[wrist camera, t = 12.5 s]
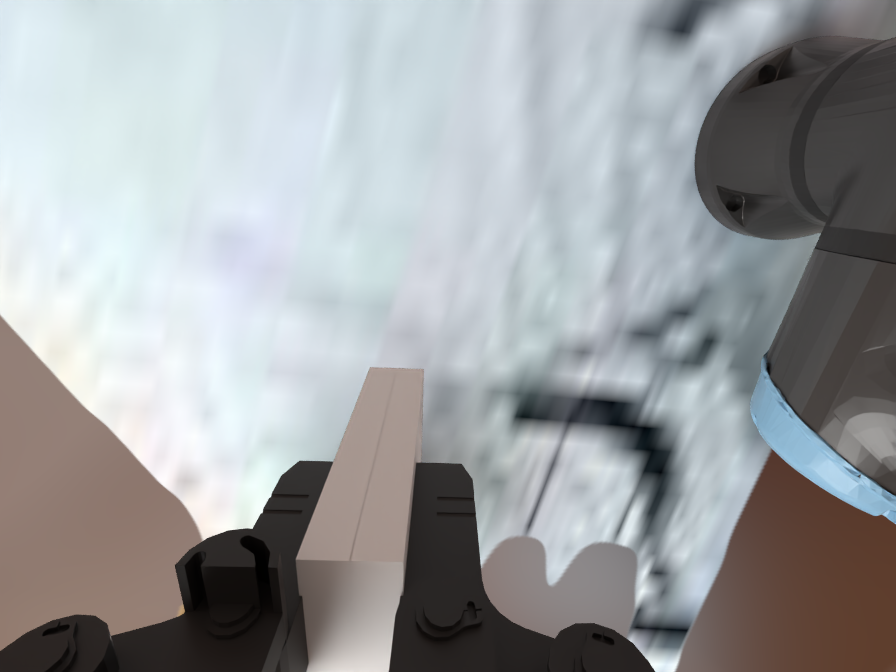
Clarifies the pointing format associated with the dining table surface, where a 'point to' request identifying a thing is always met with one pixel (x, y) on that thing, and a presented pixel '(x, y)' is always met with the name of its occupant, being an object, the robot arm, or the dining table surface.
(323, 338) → the dining table surface
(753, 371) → the dining table surface
